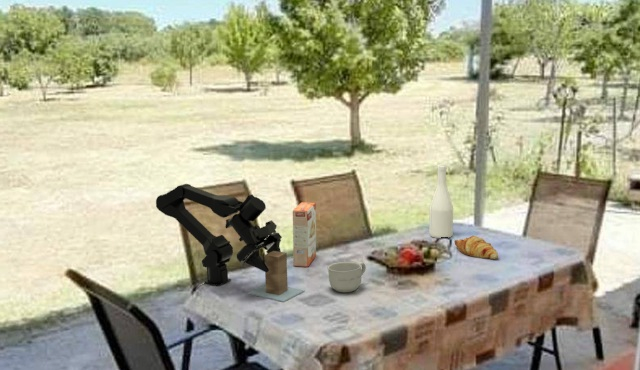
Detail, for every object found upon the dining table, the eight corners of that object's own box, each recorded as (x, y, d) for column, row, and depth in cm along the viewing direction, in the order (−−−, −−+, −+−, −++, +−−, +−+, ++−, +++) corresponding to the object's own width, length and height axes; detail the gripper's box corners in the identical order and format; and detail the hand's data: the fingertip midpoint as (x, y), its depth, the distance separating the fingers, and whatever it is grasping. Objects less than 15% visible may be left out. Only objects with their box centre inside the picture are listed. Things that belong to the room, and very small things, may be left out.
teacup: (338, 297, 204) (338, 273, 202) (322, 287, 213) (321, 263, 212) (376, 289, 210) (376, 265, 209) (359, 279, 220) (358, 257, 218)
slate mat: (248, 293, 209) (248, 292, 209) (270, 283, 218) (270, 282, 217) (283, 302, 201) (283, 301, 201) (304, 291, 210) (304, 290, 210)
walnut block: (266, 292, 208) (264, 255, 206) (274, 287, 212) (273, 250, 210) (279, 295, 206) (277, 257, 203) (287, 290, 210) (286, 252, 208)
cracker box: (309, 267, 234) (308, 210, 230) (293, 266, 235) (291, 210, 231) (317, 256, 247) (316, 201, 243) (301, 255, 248) (300, 201, 244)
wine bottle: (429, 238, 267) (430, 166, 262) (429, 232, 277) (430, 162, 271) (452, 239, 266) (454, 166, 260) (452, 233, 275) (453, 162, 269)
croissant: (502, 268, 240) (510, 248, 240) (486, 260, 234) (494, 239, 234) (459, 253, 257) (466, 234, 257) (443, 246, 251) (451, 226, 251)
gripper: (243, 221, 199) (274, 260, 196) (276, 208, 215) (305, 244, 212) (223, 242, 204) (253, 281, 201) (256, 228, 220) (285, 264, 217)
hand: (275, 267), depth 208 cm, fingers open, 9 cm apart
